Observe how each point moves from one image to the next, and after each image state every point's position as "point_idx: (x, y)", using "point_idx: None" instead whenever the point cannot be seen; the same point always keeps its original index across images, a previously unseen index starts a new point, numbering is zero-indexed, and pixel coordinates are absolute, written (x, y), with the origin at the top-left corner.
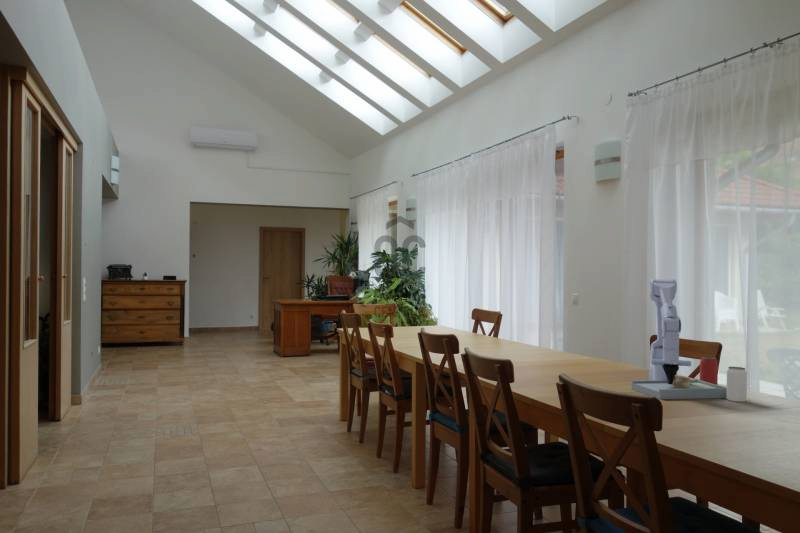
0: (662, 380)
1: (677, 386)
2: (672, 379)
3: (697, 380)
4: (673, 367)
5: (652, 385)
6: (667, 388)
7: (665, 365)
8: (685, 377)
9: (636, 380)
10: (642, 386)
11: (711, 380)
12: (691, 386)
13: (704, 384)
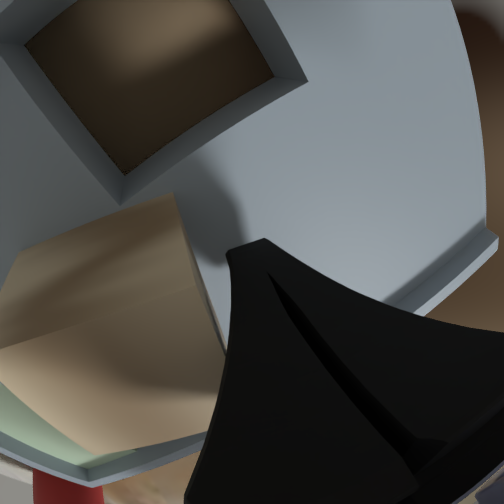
0: None
1: (155, 208)
2: (251, 282)
3: (82, 478)
4: (391, 479)
5: (406, 208)
6: (289, 90)
7: (496, 439)
8: (46, 374)
9: (479, 261)
10: (479, 119)
11: (44, 491)
12: None
13: (26, 445)
